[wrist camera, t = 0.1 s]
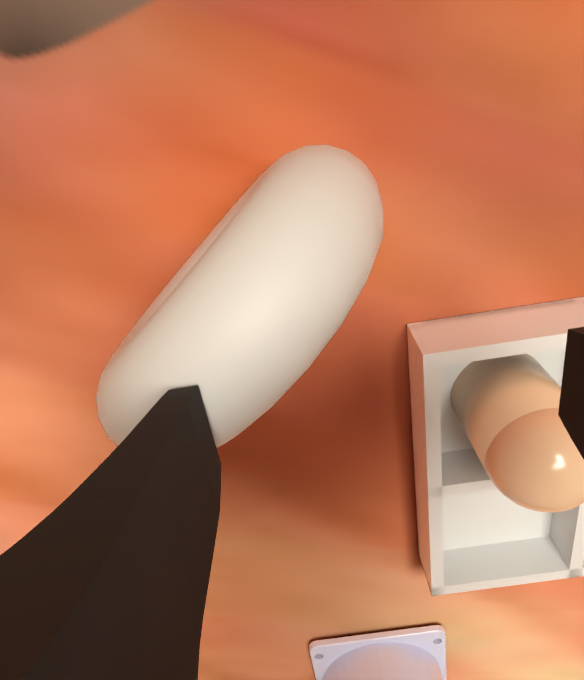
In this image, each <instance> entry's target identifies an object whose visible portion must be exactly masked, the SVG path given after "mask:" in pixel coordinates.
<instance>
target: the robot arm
mask: <svg viewBox="0 0 584 680" xmlns="http://www.w3.org/2000/svg"><path fill="white" fill-rule="evenodd" d="M558 416H559V417H560V419H561V421H562V423H563V425H564V427H565V428H566V430H567V432H568V434H569V436H570V438H571V439H572V441H573V443H574V444H575V446H576V448H577V449H578V451H579V453H580V454H581V456H582V458H583V459H584V327H578V328H572V329H568V332H567V341H566V350H565V359H564V367H563V376H562V385H561V393H560V402H559V411H558ZM220 493H221V462H220V458H219V455H218V451H217V448H216V445H215V441H214V438H213V434H212V431H211V427H210V424H209V420H208V417H207V414H206V410H205V407H204V403H203V400H202V396H201V393H200V389H199V386H198V385H197V386H191V387H184V388H177V389H171V390H168V391H167V392H166V393H165V394H164V395H163V396H162V397H161V398H160V399H159V400H158V401H157V402H156V404H155V405H154V406H153V407H152V408H151V409H150V410H149V412H148V413H147V414H146V415H145V416H144V417H143V419H142V420H141V421H140V422H139V423H138V424H137V425H136V427H135V428H134V429H133V430H132V431H131V432H130V433H129V434H128V436H127V437H126V438H125V439H124V440H123V441H122V442H121V443H120V444H119V446H118V447H117V448H116V449H115V450H114V451H113V452H112V453H111V454H110V456H109V457H108V458H107V459H106V460H105V461H104V462H103V463H102V464H101V465H100V466H99V467H98V468H97V469H96V470H95V471H94V472H93V473H92V474H91V475H90V476H89V477H88V478H87V479H86V480H85V481H84V482H83V483H82V484H81V485H80V486H79V487H78V488H77V489H76V490H75V491H74V492H73V493H72V494H71V495H70V496H69V497H68V498H67V499H66V500H65V501H64V502H63V503H62V504H61V505H59V506H58V507H57V508H56V509H55V510H54V511H53V512H52V513H51V514H50V515H48V516H47V517H46V518H45V519H44V520H43V521H41V522H40V523H39V524H38V525H37V526H36V527H35V528H33V529H32V530H31V531H30V532H29V533H28V534H26V535H25V536H24V537H23V538H22V539H20V540H19V541H18V542H17V543H16V544H14V545H13V546H12V547H11V548H9V549H8V550H7V551H5V552H4V553H3V554H1V555H0V680H198V663H199V647H200V638H201V629H202V621H203V614H204V608H205V602H206V595H207V589H208V583H209V577H210V570H211V564H212V558H213V552H214V545H215V539H216V532H217V526H218V519H219V512H220ZM309 651H310V656H311V660H312V665H313V669H314V673H315V677H316V680H446V634H445V630H444V628H443V627H442V626H440V625H432V626H424V627H416V628H409V629H401V630H393V631H385V632H378V633H370V634H362V635H355V636H347V637H339V638H332V639H324V640H316V641H313V642H311V643H310V645H309Z"/></svg>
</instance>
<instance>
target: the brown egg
mask: <svg viewBox="0 0 584 680" xmlns="http://www.w3.org/2000/svg"><path fill="white" fill-rule="evenodd" d="M560 393H561V387H560V386H559V385H558V383H557V382H556V381H555V380H554V379H553V378H552V377H551V376H550V374H549V373H548V372H547V371H546V370H545V369H544V368H543V367H542V366H541V364H540V363H539V362H538V361H537V360H536V359H535V358H534V357H532V356H530V355H529V354H519V355H513V356H506V357H499V358H493V359H486V360H479V361H472V362H471V363H470V364H468V365H467V366H466V367H465V368H464V369H463V370H462V371H461V372H460V374H459V375H458V377H457V378H456V380H455V382H454V384H453V387H452V391H451V404H452V407H453V410H454V412H455V414H456V416H457V418H458V419H459V421H460V423H461V425H462V427H463V429H464V431H465V433H466V435H467V437H468V438H469V440H470V442H471V444H472V446H473V448H474V450H475V452H476V454H477V456H478V457H479V459H480V461H481V463H482V465H483V467H484V469H485V471H486V473H487V475H488V477H489V478H490V480H491V481H492V483H493V484H494V486H495V487H496V488H497V489H498V490H499V491H500V492H501V493H502V494H503V495H504V496H505V497H507V498H508V499H509V500H511V501H512V502H514V503H516V504H517V505H519V506H521V507H524V508H527V509H530V510H533V511H538V512H546V513H552V512H562V511H566V510H570V509H573V508H575V507H577V506H579V505H581V504H583V503H584V459H583V458H582V456H581V454H580V453H579V451H578V449H577V448H576V446H575V444H574V443H573V441H572V439H571V438H570V436H569V434H568V432H567V430H566V428H565V427H564V425H563V423H562V421H561V419H560V417H559V416H558V411H559V402H560Z"/></svg>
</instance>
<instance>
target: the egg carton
mask: <svg viewBox="0 0 584 680" xmlns="http://www.w3.org/2000/svg"><path fill="white" fill-rule="evenodd" d="M578 327H584V297H579V298H572V299H566V300H559V301H553V302H546V303H539V304H533V305H526V306H520V307H513V308H507V309H500V310H494V311H487V312H481V313H474V314H468V315H461V316H455V317H448V318H441V319H435V320H428V321H422V322H415V323H409V324H407V338H408V357H409V376H410V395H411V414H412V433H413V453H414V472H415V491H416V510H417V529H418V548H419V556H420V559H421V562H422V566H423V569H424V572H425V575H426V579H427V582H428V585H429V589H430V592H431V595H432V596H436V595H443V594H451V593H459V592H466V591H474V590H481V589H489V588H496V587H504V586H512V585H519V584H527V583H534V582H542V581H549V580H557V579H565V578H572V577H580V576H584V503H583V504H581V505H579V506H577V507H575V508H573V509H570V510H566V511H562V512H552V513H546V512H538V511H533V510H530V509H527V508H524V507H521V506H519V505H517V504H516V503H514V502H512V501H511V500H509V499H508V498H507V497H505V496H504V495H503V494H502V493H501V492H500V491H499V490H498V489H497V488H496V487H495V486H494V484H493V483H492V481H491V480H490V478H489V477H488V475H487V473H486V471H485V469H484V467H483V465H482V463H481V461H480V459H479V457H478V456H477V454H476V452H475V450H474V448H473V446H472V444H471V442H470V440H469V438H468V437H467V435H466V433H465V431H464V429H463V427H462V425H461V423H460V421H459V419H458V418H457V416H456V414H455V412H454V410H453V407H452V404H451V391H452V387H453V384H454V382H455V380H456V378H457V377H458V375H459V374H460V372H461V371H462V370H463V369H464V368H465V367H466V366H467V365H468V364H470V363H471V362H472V361H479V360H486V359H493V358H499V357H506V356H513V355H519V354H529V355H530V356H532V357H534V358H535V359H536V360H537V361H538V362H539V363H540V364H541V366H542V367H543V368H544V369H545V370H546V371H547V372H548V373H549V374H550V376H551V377H552V378H553V379H554V380H555V381H556V382H557V383H558V385H559V386H560V387H561V385H562V376H563V367H564V359H565V350H566V341H567V332H568V329H572V328H578Z"/></svg>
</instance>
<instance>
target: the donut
mask: <svg viewBox="0 0 584 680" xmlns="http://www.w3.org/2000/svg"><path fill="white" fill-rule="evenodd" d="M383 219H384V216H383V207H382V199H381V195H380V192H379V189H378V185H377V182H376V179H375V178H374V176H373V175H372V174H371V172H370V171H369V169H368V168H367V166H366V165H365V164H364V162H362V161H361V160H359V159H358V158H357V157H355V156H354V155H352V154H351V153H350V152H348V151H347V150H343V149H340V148H336V147H333V146H330V145H311V146H304V147H302V148H299V149H297V150H294V151H292V152H289V153H287V154H284V155H282V156H281V157H280V158H279V159H278V160H276V161H275V162H274V163H273V164H272V165H271V166H270V167H268V168H267V169H266V170H265V171H264V172H263V173H262V174H261V175H260V176H259V177H258V178H257V180H256V181H255V182H254V183H253V184H252V185H251V186H250V187H249V188H248V189H247V191H246V192H245V193H244V194H243V195H242V196H241V197H240V198H239V200H238V201H237V202H236V203H235V204H234V205H233V206H232V208H231V209H230V210H229V211H228V212H227V213H226V215H225V216H224V217H223V218H222V219H221V220H220V222H219V223H218V224H217V225H216V226H215V227H214V229H213V230H212V231H211V232H210V233H209V234H208V236H207V237H206V238H205V239H204V240H203V242H202V243H201V244H200V245H199V246H198V248H197V249H196V250H195V251H194V252H193V254H192V255H191V256H190V257H189V258H188V260H187V261H186V262H185V263H184V264H183V266H182V267H181V268H180V269H179V270H178V272H177V273H176V274H175V275H174V277H173V278H172V279H171V280H170V281H169V283H168V284H167V285H166V286H165V288H164V289H163V290H162V291H161V293H160V294H159V295H158V296H157V297H156V299H155V300H154V301H153V302H152V304H151V305H150V306H149V307H148V309H147V310H146V311H145V312H144V314H143V315H142V316H141V318H140V319H139V320H138V321H137V323H136V324H135V325H134V326H133V328H132V329H131V330H130V332H129V333H128V334H127V336H126V337H125V338H124V340H123V341H122V342H121V343H120V345H119V346H118V348H117V349H116V351H115V352H114V353H113V355H112V356H111V358H110V360H109V362H108V363H107V365H106V367H105V368H104V370H103V372H102V374H101V377H100V380H99V385H98V390H97V395H96V403H97V410H98V418H99V420H100V422H101V424H102V426H103V428H104V430H105V432H106V434H107V436H108V437H109V438H110V439H111V440H112V441H113V442H114V443H115V444H116V445H117V446H119V444H120V443H121V442H122V441H123V440H124V439H125V438H126V437H127V436H128V434H129V433H130V432H131V431H132V430H133V429H134V428H135V427H136V425H137V424H138V423H139V422H140V421H141V420H142V419H143V417H144V416H145V415H146V414H147V413H148V412H149V410H150V409H151V408H152V407H153V406H154V405H155V404H156V402H157V401H158V400H159V399H160V398H161V397H162V396H163V395H164V394H165V393H166V392H167V391H168V390H171V389H177V388H184V387H191V386H197V385H198V386H199V389H200V393H201V396H202V400H203V403H204V407H205V410H206V414H207V417H208V420H209V424H210V427H211V431H212V434H213V438H214V441H215V445H216V448H218V447H220V446H221V445H223V444H225V443H227V442H228V441H230V440H231V439H233V438H234V437H236V436H237V435H239V434H240V433H241V432H243V431H244V430H245V429H246V428H247V427H249V426H250V425H251V424H252V423H253V422H255V421H256V420H257V419H258V418H259V417H261V416H262V415H263V414H264V413H265V412H267V411H268V410H269V409H270V408H271V407H273V406H274V404H275V403H276V402H277V401H278V400H279V399H280V398H281V397H282V396H283V395H284V394H285V393H286V392H287V391H288V389H289V388H290V387H291V386H292V385H293V384H294V383H295V382H296V381H297V380H298V379H299V378H300V377H301V376H302V375H303V373H304V372H305V371H306V370H307V369H308V368H309V367H310V366H311V364H312V363H313V362H314V360H315V359H316V358H317V356H318V355H319V354H320V352H321V351H322V350H323V348H324V347H325V346H326V344H327V343H328V342H329V341H330V339H331V338H332V337H333V335H334V334H335V333H336V331H337V330H338V329H339V327H340V326H341V325H342V323H343V321H344V320H345V318H346V316H347V314H348V313H349V311H350V309H351V308H352V306H353V304H354V303H355V301H356V299H357V297H358V296H359V294H360V292H361V291H362V289H363V287H364V286H365V283H366V281H367V278H368V276H369V274H370V271H371V268H372V266H373V263H374V260H375V257H376V255H377V252H378V249H379V247H380V244H381V241H382V238H383Z"/></svg>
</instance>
